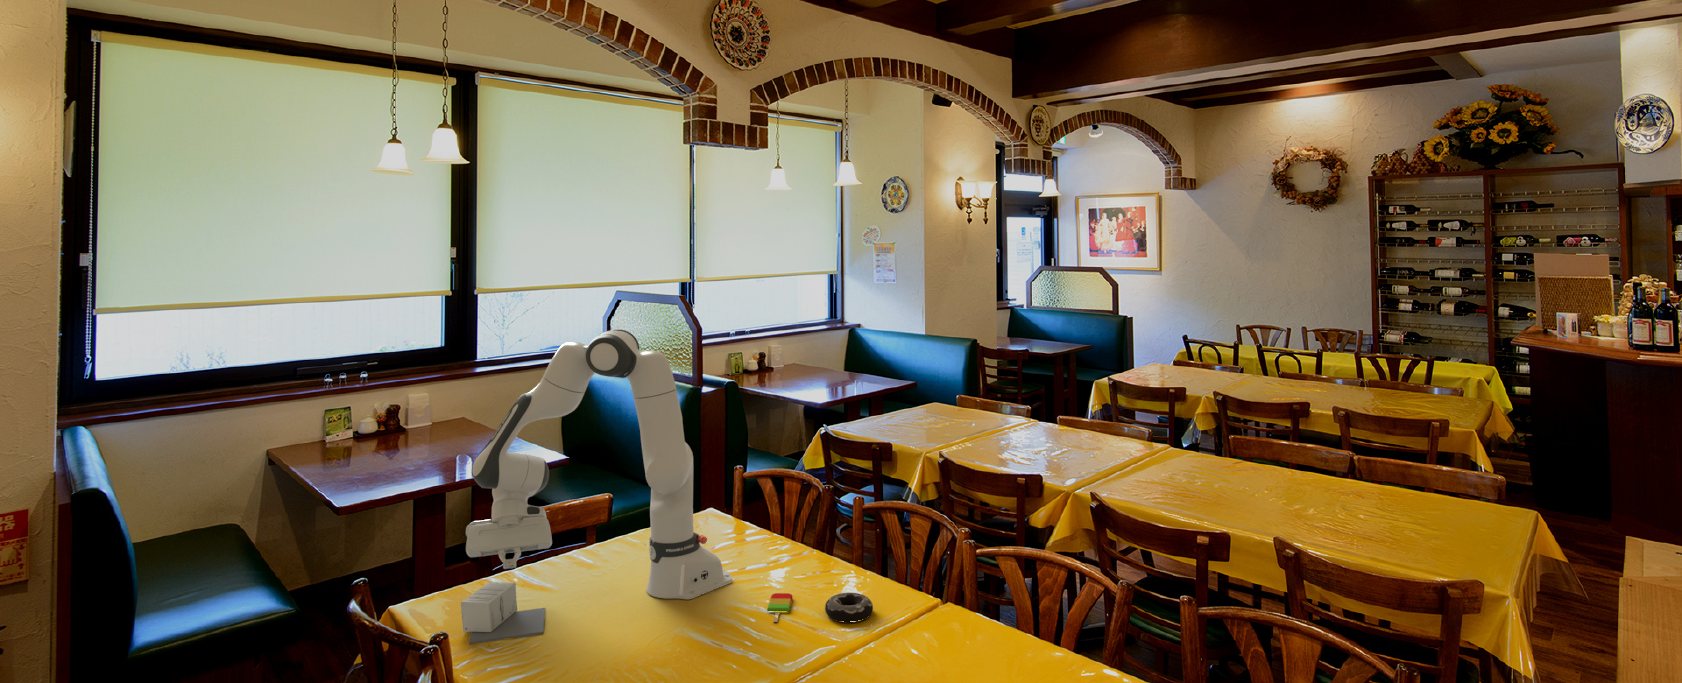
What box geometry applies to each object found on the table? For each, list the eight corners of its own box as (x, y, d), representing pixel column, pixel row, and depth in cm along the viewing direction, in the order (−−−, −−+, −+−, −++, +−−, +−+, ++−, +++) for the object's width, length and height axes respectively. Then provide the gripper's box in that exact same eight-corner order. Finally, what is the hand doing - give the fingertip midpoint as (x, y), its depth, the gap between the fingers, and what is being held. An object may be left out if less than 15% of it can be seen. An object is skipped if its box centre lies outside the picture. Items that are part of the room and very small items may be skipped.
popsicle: (793, 599, 212) (793, 592, 212) (786, 625, 197) (786, 618, 197) (771, 599, 213) (771, 592, 212) (763, 625, 198) (763, 617, 197)
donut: (864, 602, 209) (864, 587, 209) (879, 622, 198) (879, 606, 197) (820, 608, 206) (819, 593, 206) (832, 628, 195) (832, 612, 194)
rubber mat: (475, 618, 202) (475, 616, 202) (545, 609, 207) (545, 607, 207) (468, 644, 189) (468, 641, 189) (543, 633, 194) (543, 631, 194)
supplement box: (518, 610, 205) (491, 633, 193) (490, 609, 206) (461, 632, 194) (516, 581, 204) (489, 603, 192) (488, 580, 205) (459, 602, 193)
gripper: (464, 516, 208) (462, 567, 200) (550, 507, 214) (551, 556, 206) (467, 527, 213) (465, 578, 204) (551, 518, 219) (553, 567, 211)
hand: (509, 567), depth 205 cm, fingers closed
